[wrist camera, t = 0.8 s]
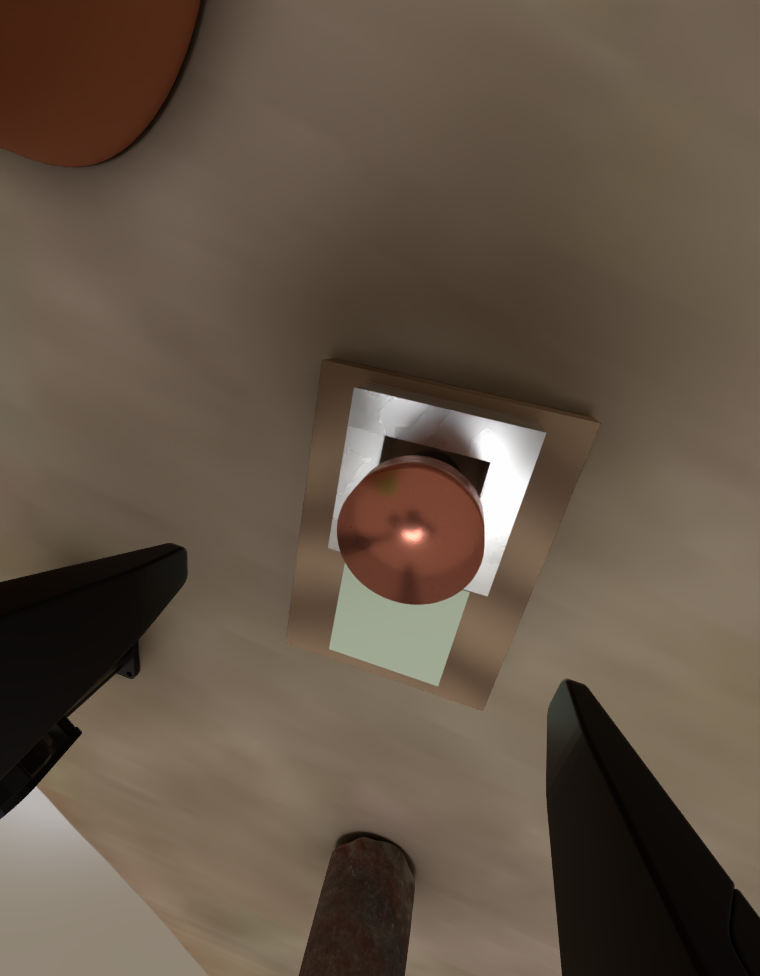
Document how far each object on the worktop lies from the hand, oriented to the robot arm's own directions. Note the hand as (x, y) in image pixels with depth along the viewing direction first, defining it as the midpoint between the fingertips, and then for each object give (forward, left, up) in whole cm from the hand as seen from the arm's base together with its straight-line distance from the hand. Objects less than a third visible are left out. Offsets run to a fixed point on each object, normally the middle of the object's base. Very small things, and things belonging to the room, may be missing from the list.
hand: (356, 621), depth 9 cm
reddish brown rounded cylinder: (-1, 0, -12) cm, 12 cm away
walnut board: (-5, 0, -14) cm, 14 cm away
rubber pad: (-10, 0, -12) cm, 15 cm away
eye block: (-1, 0, -12) cm, 12 cm away
